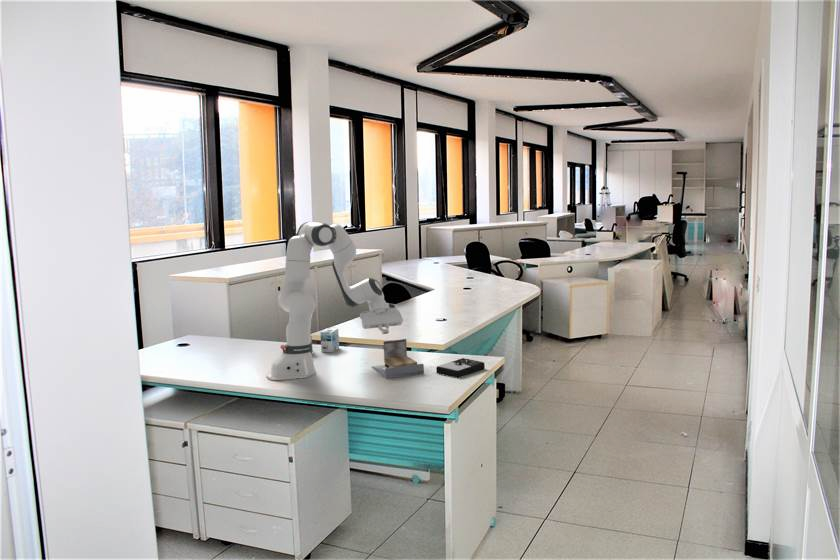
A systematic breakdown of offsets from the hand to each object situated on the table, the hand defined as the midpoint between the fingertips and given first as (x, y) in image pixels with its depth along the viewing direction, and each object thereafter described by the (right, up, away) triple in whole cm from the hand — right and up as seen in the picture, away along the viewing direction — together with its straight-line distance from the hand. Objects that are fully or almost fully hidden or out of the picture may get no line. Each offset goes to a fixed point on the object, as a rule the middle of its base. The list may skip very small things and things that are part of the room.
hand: (385, 333), depth 330 cm
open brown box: (+8, -15, -14) cm, 22 cm away
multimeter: (+35, -17, -16) cm, 42 cm away
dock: (+6, -17, -11) cm, 21 cm away
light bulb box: (-31, -12, +34) cm, 47 cm away
